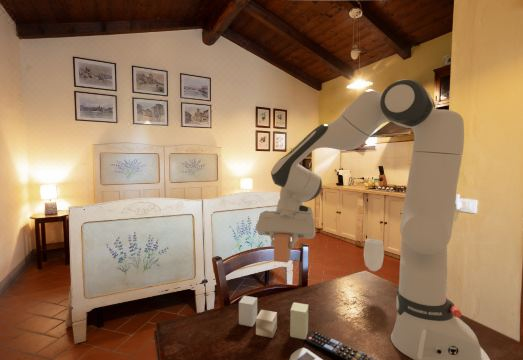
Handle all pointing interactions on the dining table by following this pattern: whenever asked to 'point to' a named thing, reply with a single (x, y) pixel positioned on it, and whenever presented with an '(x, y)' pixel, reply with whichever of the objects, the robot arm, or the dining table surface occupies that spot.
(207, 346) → the dining table surface
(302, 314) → the sage block
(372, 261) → the cup
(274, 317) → the off-white cube
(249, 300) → the light grey block
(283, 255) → the terracotta block
